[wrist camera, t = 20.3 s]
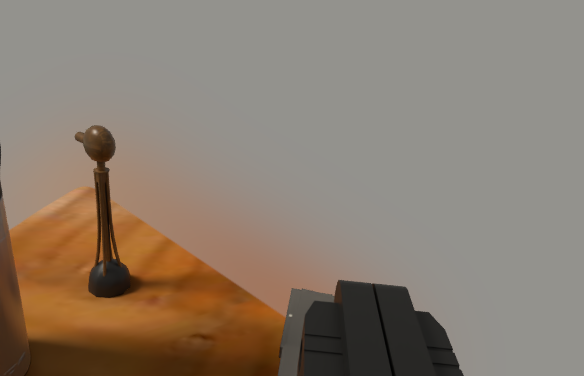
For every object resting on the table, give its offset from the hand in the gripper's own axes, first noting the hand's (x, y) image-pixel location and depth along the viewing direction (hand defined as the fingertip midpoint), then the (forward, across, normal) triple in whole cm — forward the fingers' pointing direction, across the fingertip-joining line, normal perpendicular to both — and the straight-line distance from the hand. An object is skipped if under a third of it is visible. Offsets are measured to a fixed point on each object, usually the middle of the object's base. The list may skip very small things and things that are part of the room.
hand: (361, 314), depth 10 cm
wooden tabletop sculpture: (+36, +23, +28) cm, 51 cm away
